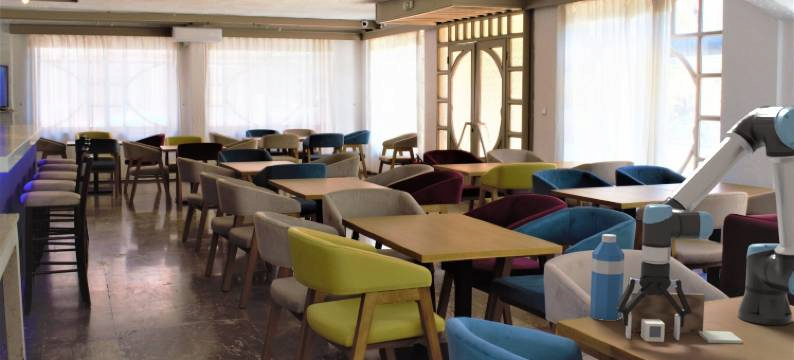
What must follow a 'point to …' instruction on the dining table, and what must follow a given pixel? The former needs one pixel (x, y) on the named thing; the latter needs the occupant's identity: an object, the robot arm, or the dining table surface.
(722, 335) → the coaster
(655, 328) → the white cube
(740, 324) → the dining table surface
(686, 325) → the walnut screen
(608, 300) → the water bottle
